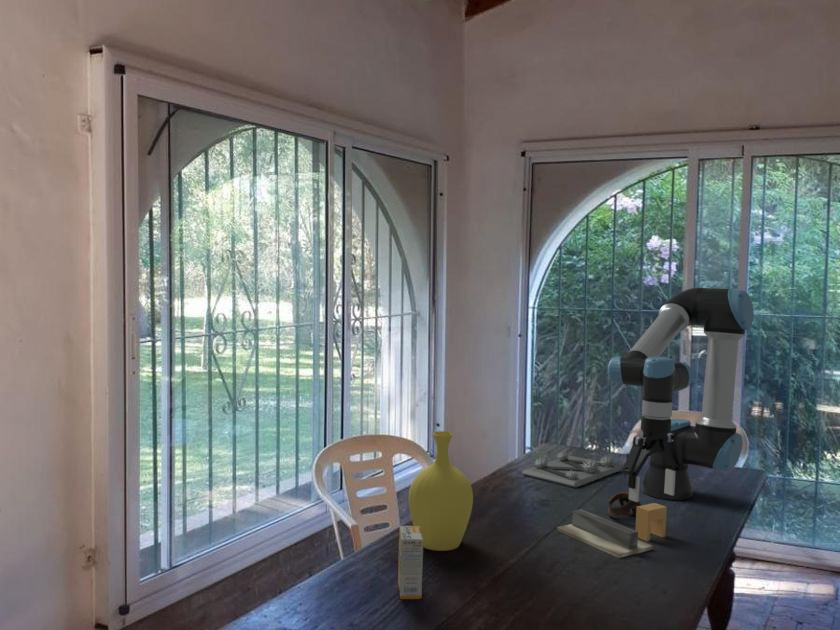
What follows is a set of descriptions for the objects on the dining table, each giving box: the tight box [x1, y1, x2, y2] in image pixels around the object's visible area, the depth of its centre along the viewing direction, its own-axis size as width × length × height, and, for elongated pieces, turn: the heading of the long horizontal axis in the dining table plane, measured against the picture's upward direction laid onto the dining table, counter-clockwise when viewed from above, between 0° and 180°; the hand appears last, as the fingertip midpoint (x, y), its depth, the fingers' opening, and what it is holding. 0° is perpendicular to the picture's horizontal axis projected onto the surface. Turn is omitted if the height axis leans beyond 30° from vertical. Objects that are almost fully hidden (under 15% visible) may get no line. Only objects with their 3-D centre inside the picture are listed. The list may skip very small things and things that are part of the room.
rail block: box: [556, 508, 654, 559], centre depth 208 cm, size 12×22×5 cm, turn 33°
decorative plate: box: [521, 451, 622, 489], centre depth 272 cm, size 30×22×7 cm
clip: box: [634, 502, 668, 542], centre depth 212 cm, size 7×4×8 cm, turn 123°
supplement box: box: [397, 525, 424, 600], centre depth 172 cm, size 8×5×13 cm, turn 5°
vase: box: [408, 430, 474, 552], centre depth 201 cm, size 16×16×28 cm
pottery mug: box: [607, 491, 642, 519], centre depth 227 cm, size 12×10×8 cm
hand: (651, 497), depth 211 cm, fingers open, 13 cm apart
